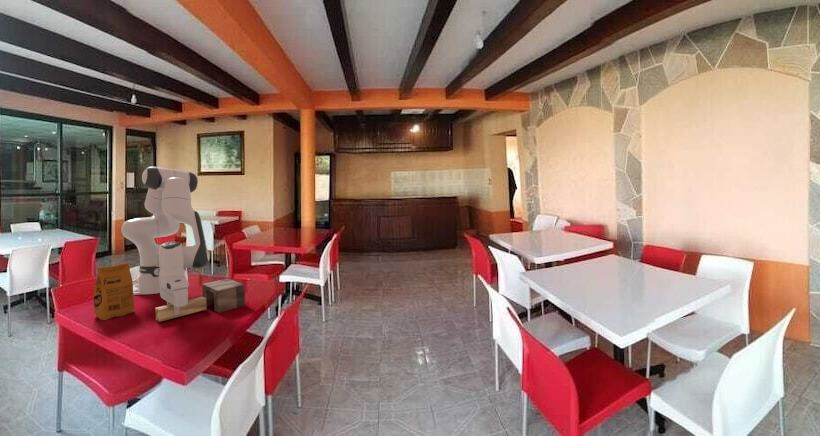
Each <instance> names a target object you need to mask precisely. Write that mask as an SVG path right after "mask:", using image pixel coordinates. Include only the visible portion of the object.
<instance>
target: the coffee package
mask: <svg viewBox="0 0 820 436" xmlns="http://www.w3.org/2000/svg"><path fill="white" fill-rule="evenodd" d="M94 284H95V285H94V288H93V289H94V290H93V313H94V314H95V317H96V318H98V319H99V320H100V321H106V320H110V319H113V318H115V317H118V318H120V317H123V316H126V315H129V314H131V313H134V312H135V299H134V298H135V297H134V296H135V295H134V294H133V286H134V284H133V277H132V273H131V269H130V265H129V262H124V263H120V264H117V265H112V266H111V265H110V266H109V265H108V266H97V276H96V280H95V283H94Z"/></svg>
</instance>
